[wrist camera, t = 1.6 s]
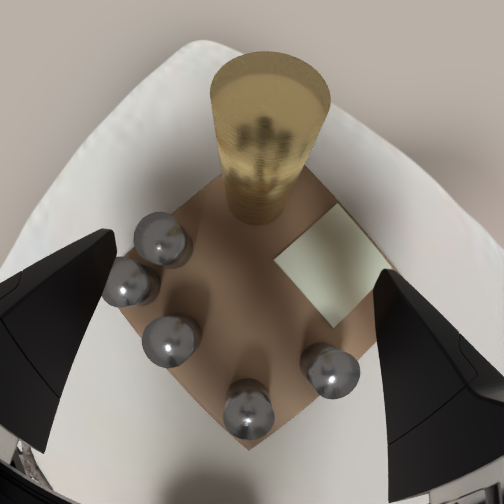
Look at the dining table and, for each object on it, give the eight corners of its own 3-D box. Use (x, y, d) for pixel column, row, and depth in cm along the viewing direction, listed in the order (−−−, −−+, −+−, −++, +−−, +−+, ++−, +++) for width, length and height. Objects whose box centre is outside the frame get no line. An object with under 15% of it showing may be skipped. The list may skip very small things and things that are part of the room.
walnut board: (248, 444, 20) (248, 452, 18) (104, 281, 21) (97, 279, 20) (409, 296, 22) (418, 296, 20) (272, 141, 23) (274, 133, 22)
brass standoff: (253, 237, 21) (267, 163, 9) (213, 192, 21) (186, 86, 10) (298, 199, 22) (353, 101, 10) (258, 157, 22) (273, 39, 10)
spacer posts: (254, 439, 19) (256, 466, 15) (111, 276, 20) (85, 272, 16) (347, 361, 20) (369, 374, 16) (202, 197, 21) (194, 175, 17)
